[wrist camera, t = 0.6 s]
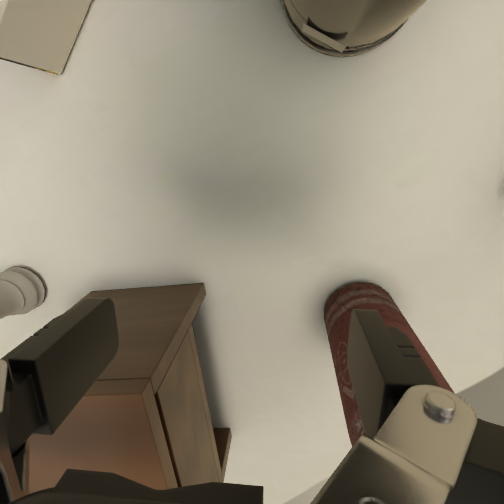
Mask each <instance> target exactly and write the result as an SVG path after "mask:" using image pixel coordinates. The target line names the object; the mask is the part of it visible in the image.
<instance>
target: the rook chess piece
mask: <svg viewBox="0 0 504 504" xmlns="http://www.w3.org/2000/svg"><path fill="white" fill-rule="evenodd" d="M44 290H45V289H44V286H43V283H42V281H41V280H40V278H39V277H38V276H37V275H36V274H35V273H33V272H32V271H30V270H27V269H24V268H20V267H12V268H9V269H7V270H5V271H4V272H2V273H0V319H1V318H3V317H5V316H8V315H16V314H25V313H27V312H29V311H31V310H33V309H35V308H36V307H38V306H40V305H41V303H42V302H43V300H44Z"/></svg>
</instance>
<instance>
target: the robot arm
mask: <svg viewBox="0 0 504 504" xmlns="http://www.w3.org/2000/svg"><path fill="white" fill-rule="evenodd" d="M426 1H427V0H280V2H281V6H282V9H283V12H284V15H285V17H286V19H287V21H288V23H289V25H290V27H291V28H292V30H293V31H294V32H295V34H296V35H297V36H298V37H299V38H300V39H301V40H302V41H303V42H304V43H305V44H307V45H308V46H309V47H311V48H313V49H314V50H316V51H318V52H321V53H324V54H327V55H331V56H338V57H346V56H354V55H359V54H362V53H365V52H368V51H370V50H372V49H374V48H376V47H378V46H380V45H381V44H383V43H384V42H385V41H387V40H388V39H389V38H390V37H392V36H393V35H394V34H395V33H396V32H397V31H398V30H399V29H400V28H401V27H402V26H403V24H404V23H405V22H406V21H407V20H408V18H409V17H410V16H411V15H412V14H414V13H415V12H416V11H417V10H418V9H419V8H420V7H421V6H422V5H423V4H424V3H425V2H426ZM118 347H119V334H118V327H117V320H116V313H115V306H114V302H113V300H112V299H110V298H93V297H88V298H86V299H84V300H83V301H82V302H80V303H79V304H78V305H77V306H75V307H74V308H73V309H71V310H70V311H69V312H67V313H65V314H62V315H60V316H58V317H56V318H54V319H53V320H52V321H50V322H49V323H48V324H46V325H45V326H44V327H43V329H40V330H38V331H37V332H36V333H34V335H33V336H30V337H29V338H28V339H26V340H25V341H24V342H22V343H21V344H20V345H19V346H17V347H16V348H15V349H13V350H12V351H11V352H9V353H8V354H7V355H5V356H4V357H3V358H1V359H0V504H263V486H252V485H242V484H231V483H220V482H209V483H203V484H197V485H190V486H184V487H178V488H172V489H165V490H155V489H152V488H150V487H147V486H145V485H142V484H140V483H137V482H135V481H132V480H130V479H128V478H125V477H123V476H120V475H118V474H115V473H111V472H100V471H89V470H78V469H67V470H66V471H65V473H64V474H63V475H62V477H61V478H60V480H59V481H58V483H57V484H56V486H55V487H52V488H48V489H44V490H40V491H36V492H34V493H31V494H29V445H28V441H27V439H28V438H29V437H30V436H31V435H32V433H33V434H46V435H53V434H54V432H55V431H56V430H57V429H58V427H59V426H60V425H61V424H62V422H63V421H64V420H65V419H66V417H67V416H68V415H69V414H70V412H71V411H72V410H73V409H74V407H75V406H76V405H77V404H78V402H79V401H80V400H81V399H82V397H83V396H84V395H85V394H86V392H87V391H88V390H89V389H90V387H91V386H92V385H93V384H94V382H95V381H96V380H97V379H98V377H99V376H100V375H101V374H102V372H103V371H104V370H105V369H106V367H107V366H108V365H109V364H110V362H111V361H112V360H113V359H114V357H115V356H116V354H117V351H118ZM347 365H348V372H349V375H350V379H351V383H352V386H353V390H354V394H355V397H356V401H357V405H358V408H359V412H360V416H361V419H362V423H363V426H364V430H365V434H366V435H363V436H361V437H360V438H359V439H358V440H357V442H356V443H355V444H354V446H353V447H352V448H351V450H350V451H349V452H348V454H347V455H346V456H345V458H344V459H343V460H342V462H341V463H340V465H339V466H338V467H337V469H336V470H335V471H334V473H333V474H332V475H331V477H330V478H329V479H328V481H327V482H326V484H325V485H324V486H323V487H322V489H321V490H320V492H319V493H318V494H317V495H316V497H315V498H314V500H313V501H312V502H311V504H504V427H503V426H500V425H496V424H493V423H489V422H486V421H483V420H481V419H478V418H477V416H476V413H475V411H474V410H473V408H472V407H471V406H470V405H469V404H468V403H467V402H466V401H465V400H464V399H462V398H461V397H460V396H458V395H457V394H455V393H453V392H451V391H449V390H446V389H444V388H441V387H440V386H439V384H438V382H437V381H436V379H435V378H434V376H433V374H432V373H431V371H430V370H429V368H428V367H427V365H426V363H425V362H424V360H423V359H422V358H421V356H420V354H419V352H418V351H417V349H415V346H414V345H413V343H412V341H411V340H410V338H409V337H408V335H406V334H405V333H403V332H402V331H401V330H399V329H398V328H397V327H395V326H386V325H385V323H384V321H383V319H382V317H381V316H380V314H379V312H378V311H377V310H363V309H353V310H352V313H351V319H350V329H349V339H348V349H347Z"/></svg>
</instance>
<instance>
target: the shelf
mask: <svg viewBox="0 0 504 504" xmlns="http://www.w3.org/2000/svg"><path fill="white" fill-rule="evenodd" d="M205 295H206V293H205V287H204V283H199V284H186V285H173V286H159V287H146V288H133V289H120V290H107V291H93V292H90V293H89V294H88V295H87V296H85V297H84V298H83V299H81V300H80V301H79V302H78V303H76V304H75V305H74V306H73V307H71V308H70V309H69V310H68V311H66V312H65V313H67V312H69V311H70V310H71V309H73V308H74V307H75V306H77V305H78V304H79V303H80V302H82V301H83V300H84V299H86V298H88V297H93V298H110V299H112V300H113V302H114V306H115V313H116V320H117V327H118V334H119V347H118V351H117V354H116V356H115V357H114V359H113V360H112V361H111V362H110V364H109V365H108V366H107V367H106V369H105V370H104V371H103V372H102V374H101V375H100V376H99V377H98V379H97V380H96V381H95V382H94V384H93V385H92V386H91V387H90V389H89V390H88V391H87V392H86V394H85V395H84V396H83V397H82V399H81V400H80V401H79V402H78V404H77V405H76V406H75V407H74V409H73V410H72V411H71V412H70V414H69V415H68V416H67V417H66V419H65V420H64V421H63V422H62V424H61V425H60V426H59V427H58V429H57V430H56V431H55V432H54V434H53V435H46V434H33V433H32V435H31V436H30V437H29V438H28V439H27V441H28V445H29V494H31V493H34V492H36V491H40V490H44V489H48V488H52V487H55V486H56V484H57V483H58V481H59V480H60V478H61V477H62V475H63V474H64V473H65V471H66V470H67V469H78V470H89V471H100V472H111V473H115V474H118V475H120V476H123V477H125V478H128V479H130V480H132V481H135V482H137V483H140V484H142V485H145V486H147V487H150V488H152V489H155V490H165V489H172V488H178V487H184V486H190V485H197V484H203V483H209V482H220V483H223V481H224V476H225V470H226V465H227V459H228V454H229V448H230V442H231V431H230V428H223V429H213V427H212V422H211V417H210V413H209V408H208V403H207V398H206V393H205V388H204V383H203V378H202V373H201V368H200V363H199V358H198V353H197V348H196V343H195V338H194V333H193V328H192V324H191V323H192V321H193V319H194V317H195V315H196V313H197V311H198V309H199V307H200V305H201V303H202V301H203V299H204V297H205ZM65 313H64V314H65Z"/></svg>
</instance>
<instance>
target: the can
mask: <svg viewBox="0 0 504 504" xmlns="http://www.w3.org/2000/svg"><path fill="white" fill-rule="evenodd" d="M353 309H363V310H377V311H378V312H379V314H380V316H381V317H382V319H383V321H384V323H385V325H386V326H395V327H397V328H398V329H399V330H401V331H402V332H403V333H405V334H406V335H408V337H409V338H410V340H411V341H412V343H413V345H414V346H415V349H417V351H418V352H419V354H420V356H421V358H422V359H423V360H424V362H425V363H426V365H427V367H428V368H429V370H430V371H431V373H432V374H433V376H434V378H435V379H436V381H437V382H438V384H439V386H440V387H441V388H444V389H446V390H449V391H451V392H453V390H452V389H451V387H450V386H449V384H448V383H447V381H446V380H445V378H444V377H443V375H442V374H441V372H440V370H439V369H438V367H437V366H436V364H435V363H434V361H433V360H432V358H431V357H430V355H429V354H428V352H427V351H426V349H425V348H424V346H423V345H422V343H421V342H420V340H419V339H418V337H417V336H416V334H415V333H414V331H413V330H412V328H411V327H410V325H409V323H408V322H407V320H406V319H405V317H404V316H403V314H402V313H401V311H400V310H399V308H398V307H397V305H396V304H395V302H394V301H393V299H392V298H391V296H390V295H389V293H388V292H386V291H385V290H384V289H382V288H381V287H379V286H376V285H373V284H371V283H354V284H350V285H346V286H344V287H342V288H341V289H339V290H337V291H336V292H335V293H334V294H333V295H332V296H331V297H330V298H329V300H328V302H327V304H326V306H325V311H324V320H325V325H326V330H327V334H328V339H329V344H330V349H331V353H332V358H333V363H334V367H335V372H336V377H337V382H338V386H339V391H340V396H341V400H342V405H343V410H344V415H345V419H346V424H347V429H348V433H349V437H350V441H351V444H352V447H353V446H354V444H355V443H356V442H357V440H358V439H359V438H360V437H361V436H363V435H366V434H365V430H364V426H363V423H362V419H361V416H360V412H359V408H358V405H357V401H356V397H355V394H354V390H353V386H352V383H351V379H350V375H349V372H348V365H347V349H348V339H349V329H350V319H351V313H352V310H353ZM453 393H454V392H453Z"/></svg>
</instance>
